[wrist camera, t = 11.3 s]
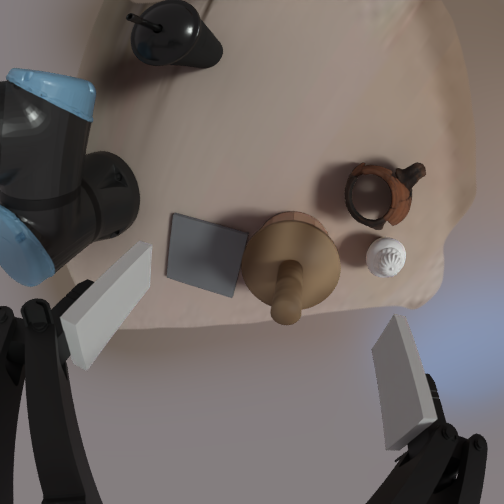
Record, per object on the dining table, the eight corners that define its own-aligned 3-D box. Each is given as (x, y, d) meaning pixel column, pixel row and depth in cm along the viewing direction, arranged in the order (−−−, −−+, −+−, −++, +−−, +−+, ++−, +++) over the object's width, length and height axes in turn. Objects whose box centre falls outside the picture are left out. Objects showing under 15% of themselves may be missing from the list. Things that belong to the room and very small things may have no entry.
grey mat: (168, 275, 51) (166, 277, 50) (175, 212, 45) (173, 214, 45) (233, 295, 51) (232, 297, 50) (248, 233, 45) (247, 235, 44)
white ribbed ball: (379, 220, 40) (391, 240, 34) (406, 243, 41) (421, 265, 35) (353, 251, 43) (360, 274, 37) (381, 271, 44) (390, 297, 38)
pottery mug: (383, 234, 42) (367, 247, 36) (346, 185, 44) (323, 189, 38) (442, 186, 34) (439, 191, 28) (400, 134, 36) (387, 127, 30)
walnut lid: (234, 290, 43) (216, 338, 34) (255, 207, 37) (238, 241, 28) (320, 314, 42) (320, 366, 33) (354, 237, 36) (368, 279, 27)
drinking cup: (183, 30, 32) (99, -10, 15) (235, 28, 31) (178, -29, 14) (178, 78, 36) (89, 64, 18) (230, 77, 35) (167, 52, 17)
